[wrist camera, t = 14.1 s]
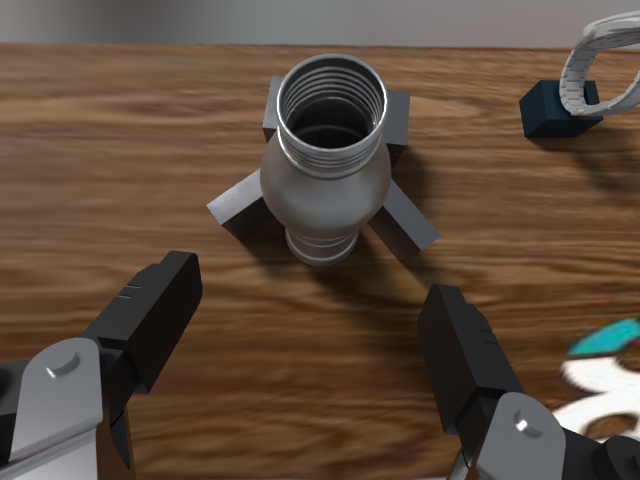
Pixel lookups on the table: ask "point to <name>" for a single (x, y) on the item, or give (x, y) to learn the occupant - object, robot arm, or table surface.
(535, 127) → the watch
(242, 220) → the v block
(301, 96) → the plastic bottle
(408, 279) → the table surface
